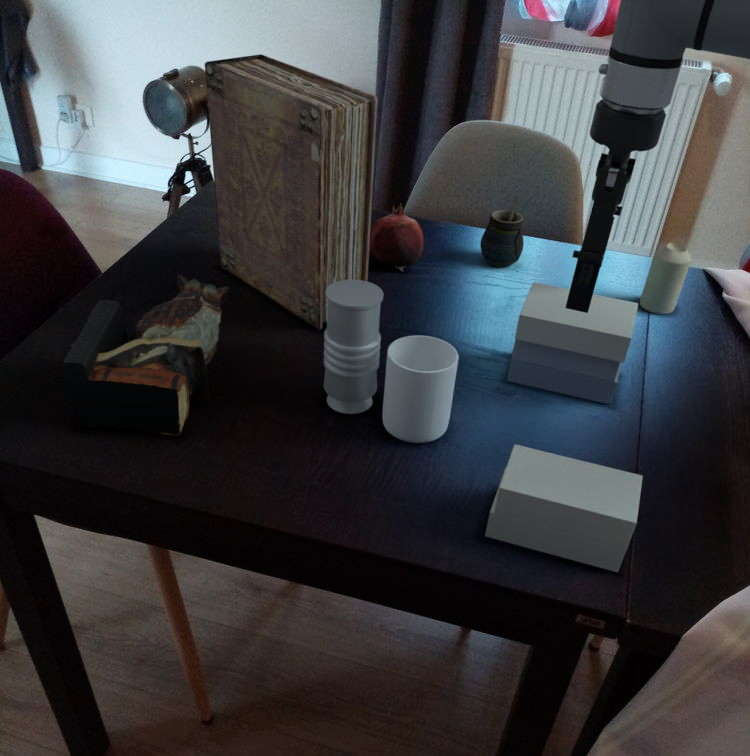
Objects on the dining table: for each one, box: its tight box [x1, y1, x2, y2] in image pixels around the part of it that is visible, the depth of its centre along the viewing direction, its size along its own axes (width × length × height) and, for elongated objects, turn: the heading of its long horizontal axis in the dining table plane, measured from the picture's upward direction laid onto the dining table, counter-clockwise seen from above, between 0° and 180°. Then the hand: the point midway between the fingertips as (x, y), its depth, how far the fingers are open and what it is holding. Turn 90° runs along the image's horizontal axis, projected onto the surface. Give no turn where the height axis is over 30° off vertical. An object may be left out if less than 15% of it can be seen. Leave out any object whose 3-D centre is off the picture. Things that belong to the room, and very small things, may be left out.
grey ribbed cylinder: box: [323, 280, 384, 415], centre depth 96 cm, size 7×7×15 cm
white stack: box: [484, 443, 644, 573], centre depth 82 cm, size 14×8×7 cm, turn 71°
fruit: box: [369, 202, 424, 273], centre depth 128 cm, size 9×10×10 cm
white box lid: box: [514, 281, 639, 364], centre depth 102 cm, size 14×10×4 cm
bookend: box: [61, 274, 230, 437], centre depth 98 cm, size 15×11×25 cm
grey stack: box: [506, 338, 622, 405], centre depth 105 cm, size 14×8×7 cm, turn 71°
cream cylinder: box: [639, 241, 693, 315], centre depth 122 cm, size 6×6×10 cm
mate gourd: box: [479, 196, 525, 268], centre depth 131 cm, size 7×8×10 cm
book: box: [204, 53, 378, 331], centre depth 112 cm, size 25×9×30 cm, turn 42°
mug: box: [381, 334, 460, 444], centre depth 95 cm, size 12×8×10 cm
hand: (584, 286), depth 99 cm, fingers open, 13 cm apart
